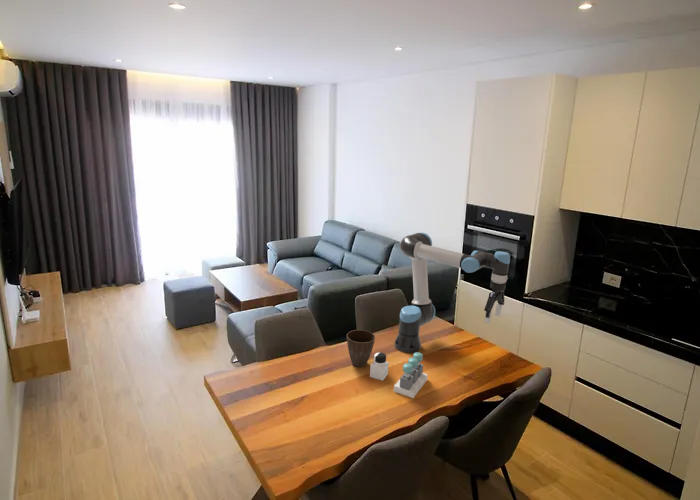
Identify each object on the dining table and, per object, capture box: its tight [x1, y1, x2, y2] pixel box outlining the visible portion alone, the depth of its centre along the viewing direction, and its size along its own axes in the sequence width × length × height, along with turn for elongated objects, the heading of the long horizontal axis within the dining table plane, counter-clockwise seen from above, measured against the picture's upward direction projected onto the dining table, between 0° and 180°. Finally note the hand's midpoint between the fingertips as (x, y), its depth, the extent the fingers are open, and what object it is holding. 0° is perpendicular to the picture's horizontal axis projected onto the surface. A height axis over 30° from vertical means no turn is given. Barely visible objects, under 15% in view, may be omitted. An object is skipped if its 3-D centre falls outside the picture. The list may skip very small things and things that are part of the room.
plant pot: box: [346, 329, 376, 368], centre depth 227 cm, size 15×15×16 cm
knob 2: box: [407, 357, 418, 373], centre depth 209 cm, size 5×5×8 cm
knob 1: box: [402, 362, 413, 379], centre depth 203 cm, size 5×5×8 cm
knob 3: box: [412, 351, 424, 367], centre depth 214 cm, size 5×5×8 cm
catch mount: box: [393, 363, 429, 399], centre depth 210 cm, size 10×19×8 cm, turn 150°
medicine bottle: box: [369, 352, 389, 382], centre depth 217 cm, size 7×7×12 cm
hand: (492, 319), depth 229 cm, fingers open, 13 cm apart
